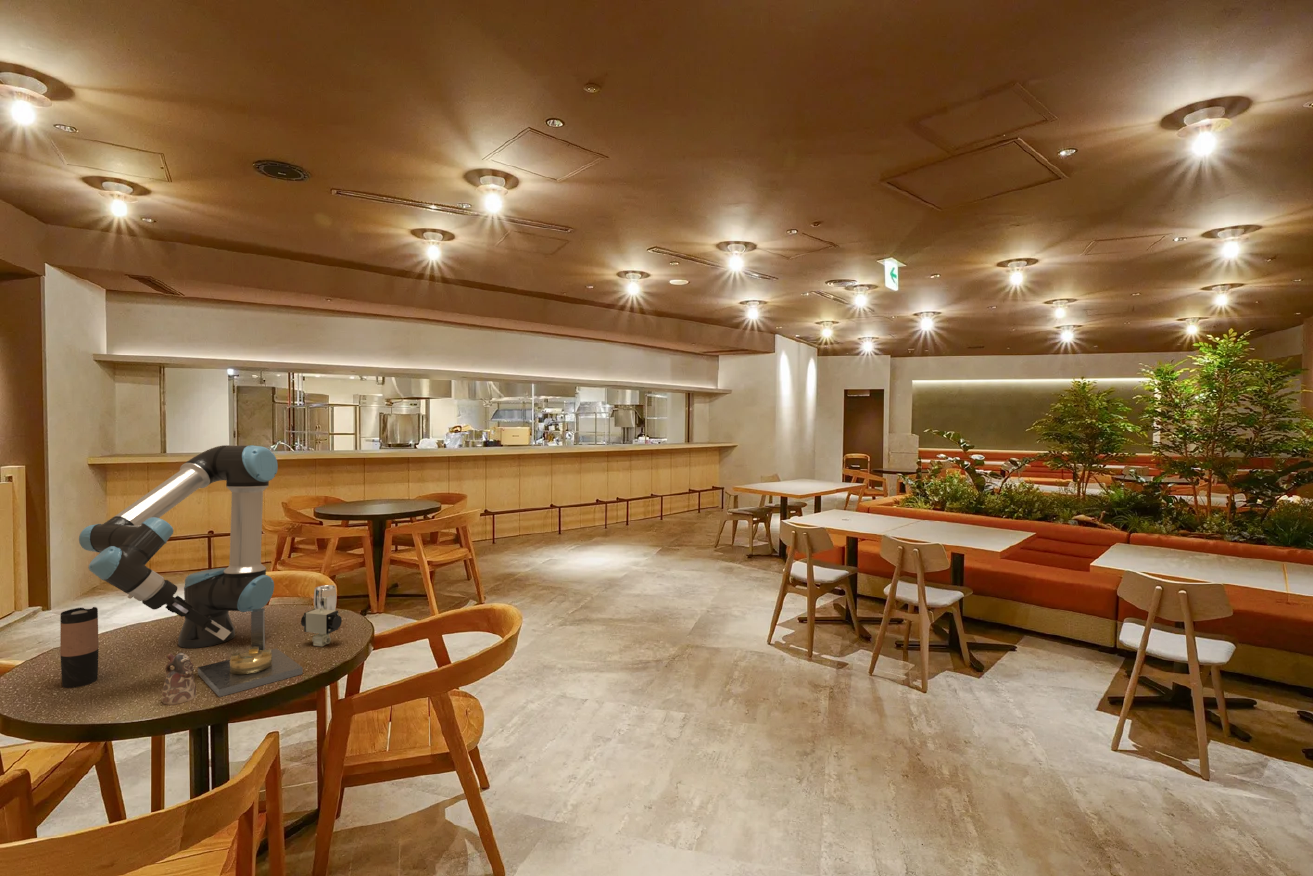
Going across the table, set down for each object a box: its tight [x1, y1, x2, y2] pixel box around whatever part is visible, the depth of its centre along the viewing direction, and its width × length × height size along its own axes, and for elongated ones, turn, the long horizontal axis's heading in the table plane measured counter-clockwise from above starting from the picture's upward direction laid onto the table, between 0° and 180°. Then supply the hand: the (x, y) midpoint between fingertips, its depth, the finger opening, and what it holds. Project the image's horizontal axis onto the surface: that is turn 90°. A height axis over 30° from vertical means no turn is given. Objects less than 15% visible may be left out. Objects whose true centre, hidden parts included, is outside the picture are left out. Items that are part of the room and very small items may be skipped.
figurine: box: [161, 652, 197, 706], centre depth 158 cm, size 7×7×12 cm
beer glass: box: [313, 584, 337, 610], centre depth 212 cm, size 7×7×15 cm
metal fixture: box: [229, 607, 272, 674], centre depth 177 cm, size 18×10×13 cm, turn 25°
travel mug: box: [59, 606, 100, 689], centre depth 168 cm, size 8×8×20 cm
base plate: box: [197, 648, 304, 698], centre depth 174 cm, size 22×20×2 cm
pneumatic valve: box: [300, 608, 343, 647], centre depth 198 cm, size 6×12×12 cm, turn 78°
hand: (226, 635), depth 177 cm, fingers closed
